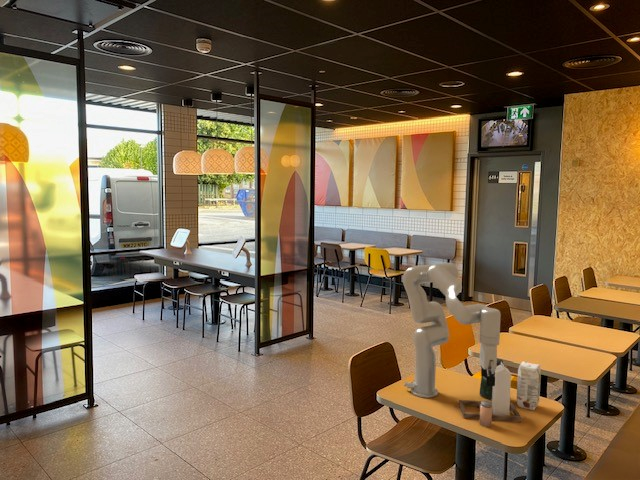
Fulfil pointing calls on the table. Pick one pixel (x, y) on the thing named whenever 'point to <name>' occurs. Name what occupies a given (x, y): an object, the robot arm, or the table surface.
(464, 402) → the organizer
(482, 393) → the coffee jar
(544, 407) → the table surface
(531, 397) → the juice carton
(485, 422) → the shaker
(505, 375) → the milk
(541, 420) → the table surface
